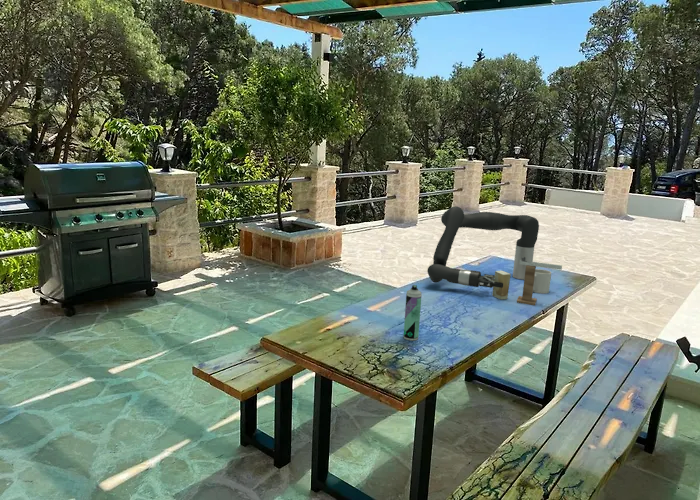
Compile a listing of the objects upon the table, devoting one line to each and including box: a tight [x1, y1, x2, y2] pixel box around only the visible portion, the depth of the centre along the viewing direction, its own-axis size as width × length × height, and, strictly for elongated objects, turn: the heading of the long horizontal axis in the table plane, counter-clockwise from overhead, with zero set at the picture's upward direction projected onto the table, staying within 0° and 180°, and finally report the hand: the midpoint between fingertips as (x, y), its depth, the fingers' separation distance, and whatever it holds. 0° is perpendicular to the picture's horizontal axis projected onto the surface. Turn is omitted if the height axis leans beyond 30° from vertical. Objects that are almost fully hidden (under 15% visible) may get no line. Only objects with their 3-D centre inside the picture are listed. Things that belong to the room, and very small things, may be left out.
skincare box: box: [491, 270, 511, 301], centre depth 252 cm, size 6×4×12 cm
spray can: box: [403, 284, 422, 342], centre depth 197 cm, size 6×6×20 cm
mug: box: [533, 268, 552, 294], centre depth 265 cm, size 11×10×10 cm
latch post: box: [516, 265, 538, 306], centre depth 247 cm, size 8×8×17 cm
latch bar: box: [519, 257, 563, 271], centre depth 243 cm, size 2×18×3 cm, turn 67°
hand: (504, 283), depth 251 cm, fingers open, 8 cm apart
